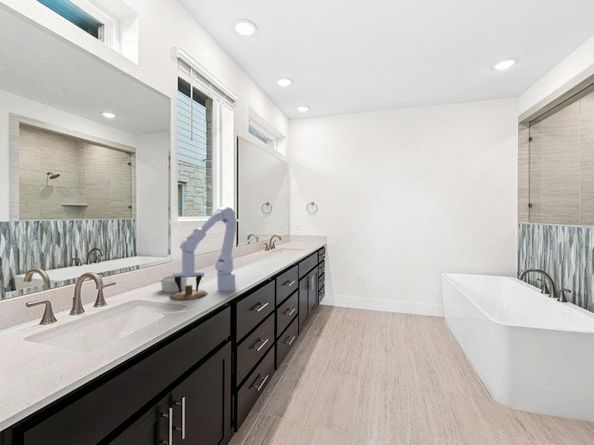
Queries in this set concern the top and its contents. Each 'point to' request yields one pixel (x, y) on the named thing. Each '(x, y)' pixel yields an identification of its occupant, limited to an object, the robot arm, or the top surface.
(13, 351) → the top surface
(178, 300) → the mat
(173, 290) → the ramekin
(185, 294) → the lid
